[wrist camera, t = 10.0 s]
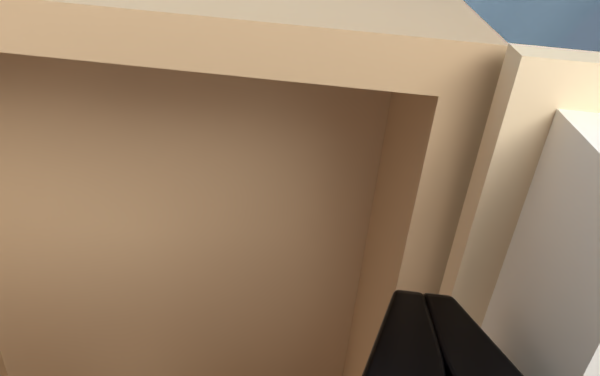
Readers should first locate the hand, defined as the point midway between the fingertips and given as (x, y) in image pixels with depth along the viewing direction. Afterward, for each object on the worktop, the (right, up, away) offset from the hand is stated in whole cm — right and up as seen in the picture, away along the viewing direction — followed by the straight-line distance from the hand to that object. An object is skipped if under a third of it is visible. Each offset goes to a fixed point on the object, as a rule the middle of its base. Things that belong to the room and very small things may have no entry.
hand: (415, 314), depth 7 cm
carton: (-6, +1, +9) cm, 11 cm away
